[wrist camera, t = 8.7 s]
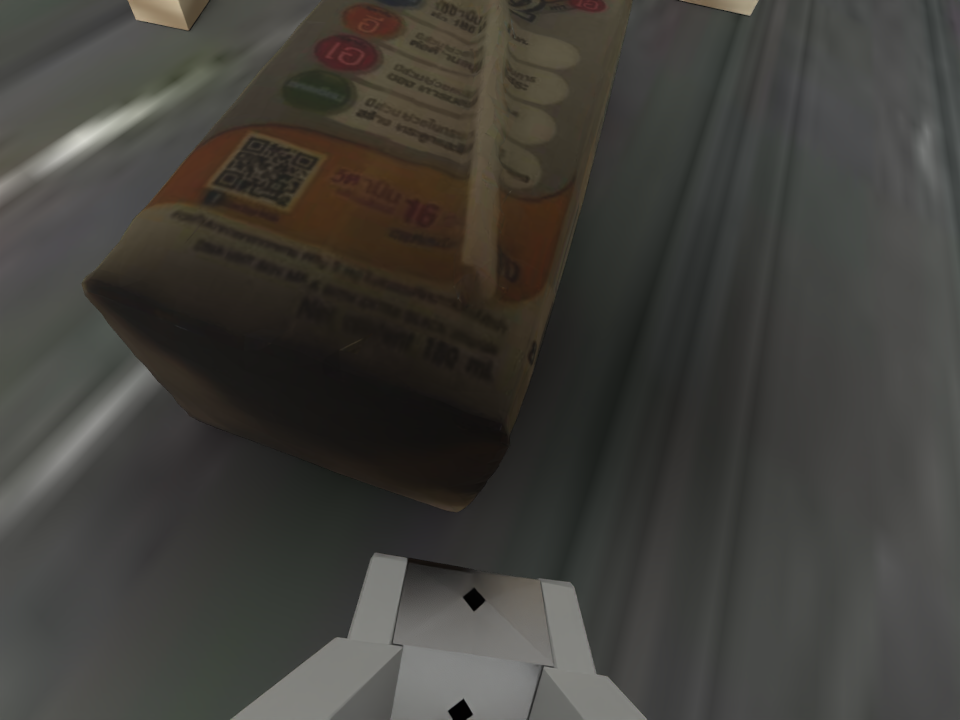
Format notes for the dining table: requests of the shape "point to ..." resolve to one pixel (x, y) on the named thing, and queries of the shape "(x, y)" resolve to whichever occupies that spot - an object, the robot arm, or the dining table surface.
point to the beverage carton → (376, 236)
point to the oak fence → (182, 3)
